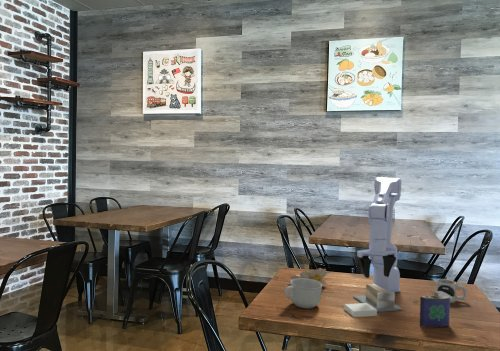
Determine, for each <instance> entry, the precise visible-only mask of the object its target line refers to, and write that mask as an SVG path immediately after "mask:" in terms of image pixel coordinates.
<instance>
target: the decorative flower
mask: <svg viewBox="0 0 500 351" xmlns="http://www.w3.org/2000/svg"><path fill="white" fill-rule="evenodd" d="M329 273H330V271H327V269H326V268H321V267H319V268H317V269H312V268H311V269H310V270H309V271H301V272H300V273H299V274H294V275H293V276H290V277H289V279H291V280H293V279H297V278H306V279H312V280H316V281H318V282H320V283H321V284H322V286H326V285H327V284H328V282H327V281H326V280H324V279H323V278H325V277H326V276H327V275H328V274H329Z"/></svg>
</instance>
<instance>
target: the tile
mask: <svg viewBox="0 0 500 351" xmlns="http://www.w3.org/2000/svg"><path fill="white" fill-rule="evenodd" d="M344 311H346V312H347V313H349V315H351V317H353V318H361V317H377V316H378V312H377V310H376V309H375V308H373V307H372V306H370V305H369V304H367V303H361V302H359V303H357V302H356V303H344Z"/></svg>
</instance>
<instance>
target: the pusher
mask: <svg viewBox="0 0 500 351" xmlns="http://www.w3.org/2000/svg"><path fill="white" fill-rule="evenodd" d="M365 287H366V288H365V292H366V293H365V295H366V298H367V299H369V300H370V301H372V302H373V303H375V304H377V308H392V307H394V304H395V302H396V301H395V300H396V299H395V298H396V294H395V293H396V292H388V291H386V290H385V289H383V288H381V287H379V286H377V285H376V284H373V283H366V286H365Z"/></svg>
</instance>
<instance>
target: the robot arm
mask: <svg viewBox="0 0 500 351" xmlns="http://www.w3.org/2000/svg"><path fill="white" fill-rule="evenodd" d="M373 185H374V187H373V188H374V194H375V195H374V197H373V200H372V203H371V204H369V205H368V211H367V212H368V215H367V216H368V225H369V235H368V236H369V237H368V238H369V240H368V241H369V242H368V249H363V250H357V251H356V256H357V257H358V260H359V262H360V264H361V265H360V266H361V267H362V271H363V276H364V278H366V279H369V278H370V275H371V274H370V272H371V270H370V269H371V265H372V267H373V269H372V270H373V271H372V272H373V276H372V277H373V278H372V284H376V285H377V286H379V287H381V288H383V289H385V290H386V291H388V292H394V293H397V292H401V290H400V285H401V284H400V283H401V282H400V280H401V276H400V275H401V273H400V270H399V268H398V266H397V265H398V248H397V246H396V245H395V244H394V243H392V242H391V240H392V230H393V229H392V227H393V215H394V206H395V203H396V202H398V201H400V200H401V199H400V198H401V196H402V194H401V192H402V179H401V178H400V177H395V178H394V177H378V176H377V177H375V179H374V184H373Z"/></svg>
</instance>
